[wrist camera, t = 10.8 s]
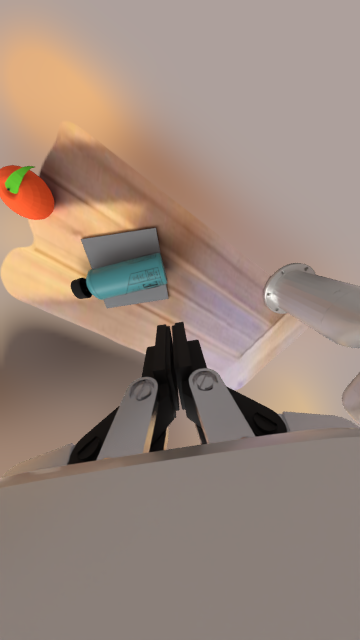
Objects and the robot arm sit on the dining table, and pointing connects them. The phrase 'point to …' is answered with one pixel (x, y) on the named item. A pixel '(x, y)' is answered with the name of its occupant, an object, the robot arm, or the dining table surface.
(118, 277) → the beverage bottle
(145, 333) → the dining table surface
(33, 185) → the clementine
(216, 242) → the dining table surface
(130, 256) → the mat
